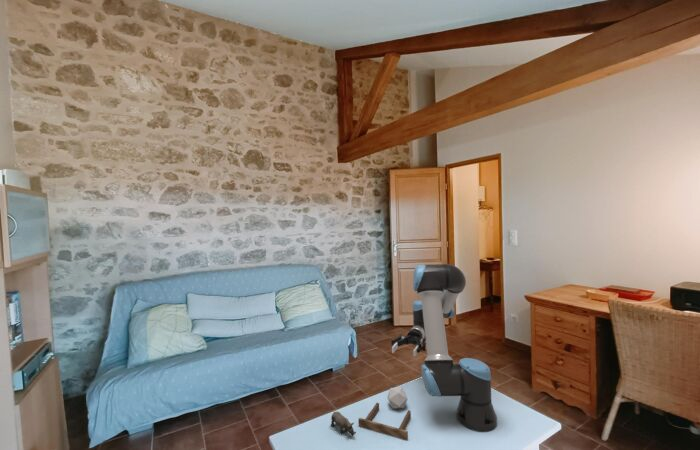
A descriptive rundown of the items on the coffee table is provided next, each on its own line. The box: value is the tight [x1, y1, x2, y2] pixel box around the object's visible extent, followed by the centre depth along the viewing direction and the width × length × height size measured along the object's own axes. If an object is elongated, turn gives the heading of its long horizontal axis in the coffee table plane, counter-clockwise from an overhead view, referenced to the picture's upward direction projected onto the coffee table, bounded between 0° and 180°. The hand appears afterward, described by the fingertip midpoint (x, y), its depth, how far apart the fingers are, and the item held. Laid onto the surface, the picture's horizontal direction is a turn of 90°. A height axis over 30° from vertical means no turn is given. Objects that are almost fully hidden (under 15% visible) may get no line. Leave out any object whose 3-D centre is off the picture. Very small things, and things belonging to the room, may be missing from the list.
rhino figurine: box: [330, 411, 357, 437], centre depth 124 cm, size 4×14×6 cm, turn 42°
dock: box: [358, 402, 412, 441], centre depth 128 cm, size 20×14×3 cm
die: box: [387, 387, 408, 410], centre depth 139 cm, size 8×9×10 cm
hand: (403, 351), depth 149 cm, fingers open, 10 cm apart
